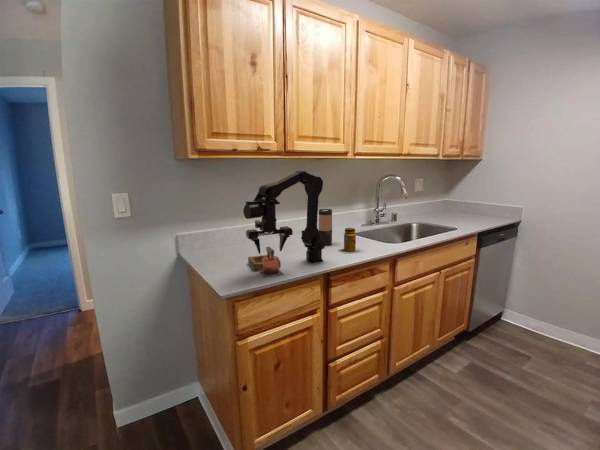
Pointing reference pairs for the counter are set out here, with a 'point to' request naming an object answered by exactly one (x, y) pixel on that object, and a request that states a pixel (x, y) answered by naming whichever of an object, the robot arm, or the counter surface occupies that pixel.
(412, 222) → the counter surface
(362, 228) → the counter surface
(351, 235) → the condiment
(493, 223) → the counter surface
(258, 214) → the robot arm
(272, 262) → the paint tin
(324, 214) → the travel mug
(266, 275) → the mat
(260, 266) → the holder
